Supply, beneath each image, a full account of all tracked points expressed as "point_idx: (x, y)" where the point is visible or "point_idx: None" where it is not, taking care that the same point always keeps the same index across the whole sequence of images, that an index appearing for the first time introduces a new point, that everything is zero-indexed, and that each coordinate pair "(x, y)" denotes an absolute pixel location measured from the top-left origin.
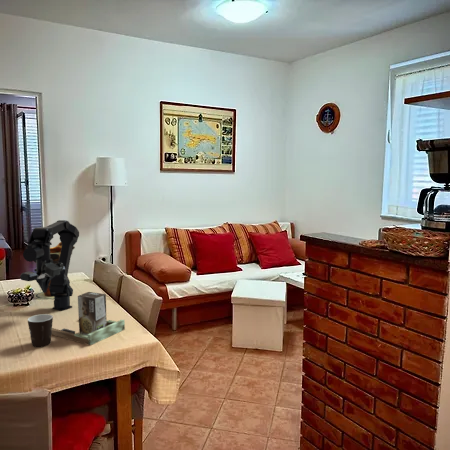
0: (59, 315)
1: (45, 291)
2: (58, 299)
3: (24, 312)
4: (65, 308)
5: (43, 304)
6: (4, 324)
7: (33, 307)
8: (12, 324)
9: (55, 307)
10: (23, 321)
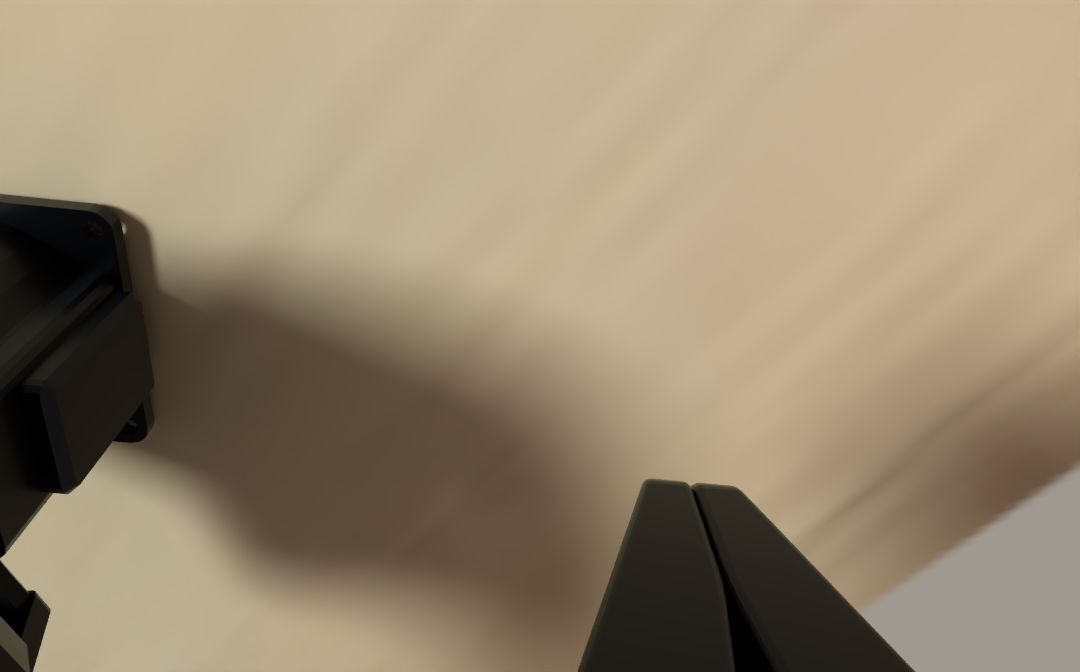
0: (309, 52)
1: (710, 506)
2: (2, 405)
3: (492, 629)
4: (1, 211)
5: (113, 652)
6: (1005, 514)
7: (281, 669)
8: (987, 427)
9: (139, 364)
10: (824, 387)
